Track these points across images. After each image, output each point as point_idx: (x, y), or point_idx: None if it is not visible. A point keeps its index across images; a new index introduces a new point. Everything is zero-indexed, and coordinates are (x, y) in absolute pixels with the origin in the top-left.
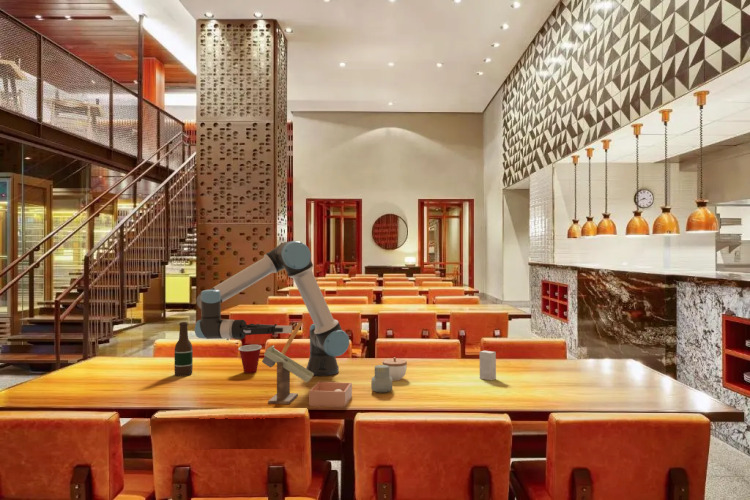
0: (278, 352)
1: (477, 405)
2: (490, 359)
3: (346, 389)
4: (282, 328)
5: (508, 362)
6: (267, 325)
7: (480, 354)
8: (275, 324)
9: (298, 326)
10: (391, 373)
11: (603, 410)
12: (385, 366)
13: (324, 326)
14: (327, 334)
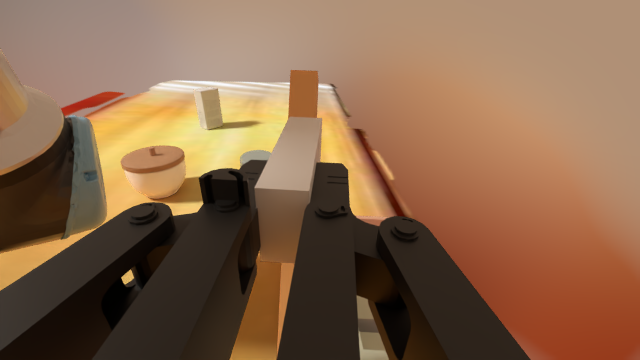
0: (360, 342)
1: (338, 139)
2: (218, 97)
3: (377, 217)
4: (324, 167)
5: (127, 111)
6: (7, 353)
7: (203, 95)
8: (245, 179)
9: (316, 104)
10: (180, 179)
11: (338, 103)
12: (260, 152)
13: (25, 117)
14: (64, 151)
